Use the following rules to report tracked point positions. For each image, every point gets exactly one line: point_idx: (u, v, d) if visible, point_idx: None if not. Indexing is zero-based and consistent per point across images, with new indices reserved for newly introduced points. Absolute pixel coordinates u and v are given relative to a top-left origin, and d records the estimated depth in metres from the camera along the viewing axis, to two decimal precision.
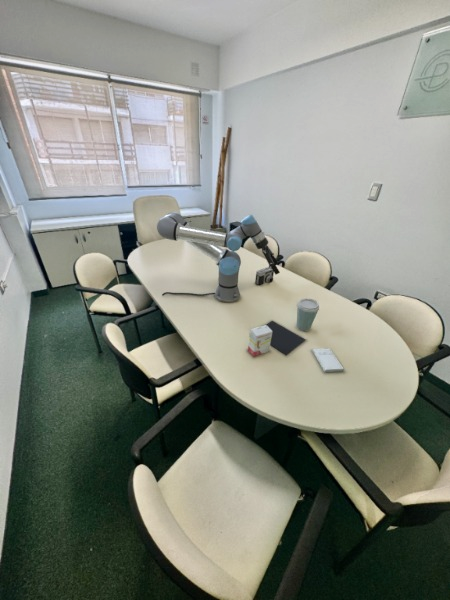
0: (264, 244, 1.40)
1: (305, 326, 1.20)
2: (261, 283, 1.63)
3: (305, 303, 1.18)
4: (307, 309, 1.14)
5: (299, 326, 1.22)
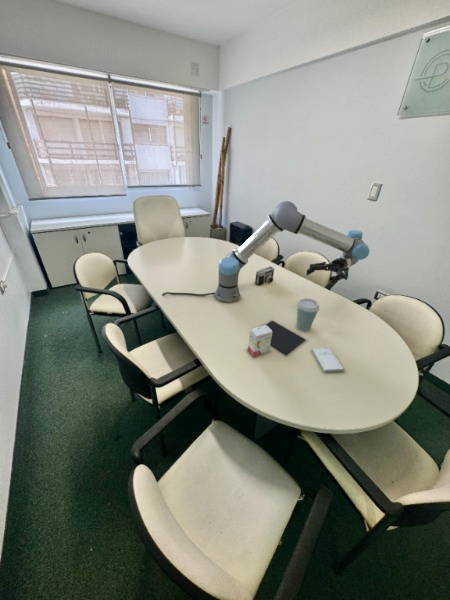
0: None
1: (305, 326, 1.20)
2: (261, 283, 1.63)
3: (305, 303, 1.18)
4: (307, 309, 1.14)
5: (299, 326, 1.22)
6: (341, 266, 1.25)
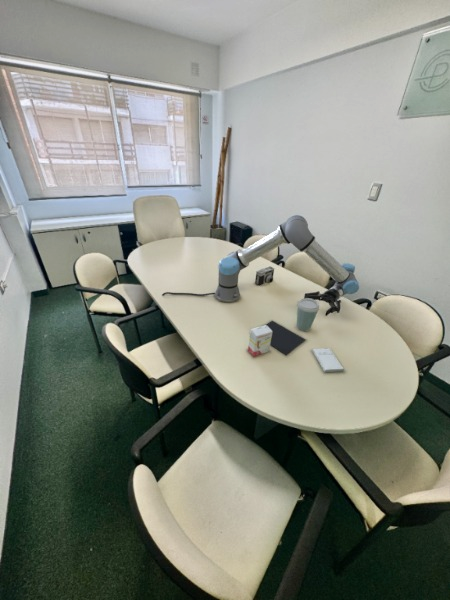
0: None
1: (305, 326, 1.20)
2: (261, 283, 1.63)
3: (305, 303, 1.18)
4: (307, 309, 1.14)
5: (299, 326, 1.22)
6: (334, 298, 1.32)
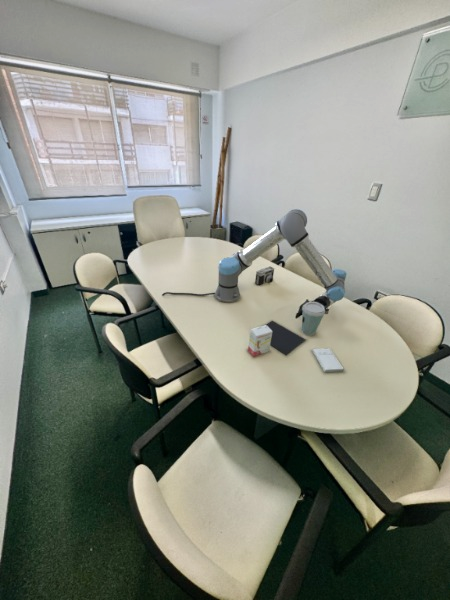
0: (326, 308, 1.28)
1: (310, 330, 1.17)
2: (261, 283, 1.63)
3: (310, 307, 1.16)
4: (313, 313, 1.11)
5: (304, 330, 1.19)
6: (324, 305, 1.26)
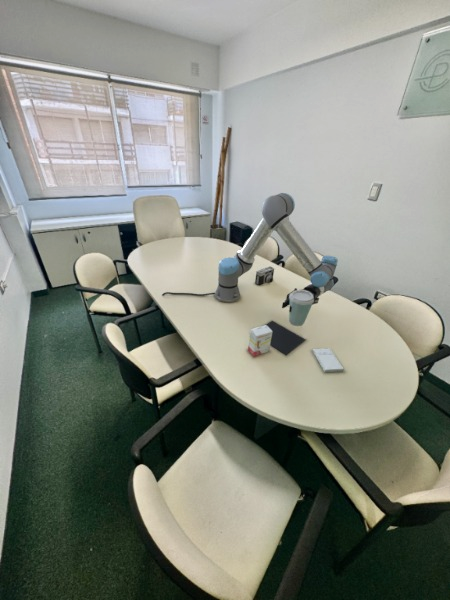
0: (316, 297, 1.19)
1: (298, 321, 1.07)
2: (261, 283, 1.63)
3: (298, 295, 1.06)
4: (300, 301, 1.01)
5: (292, 321, 1.09)
6: (314, 294, 1.16)
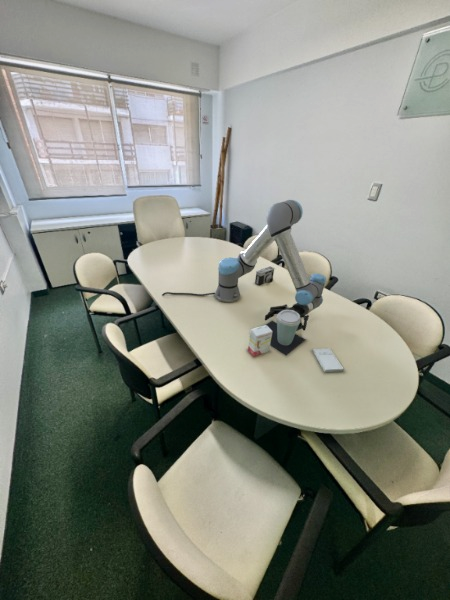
0: (304, 315, 1.21)
1: (286, 340, 1.09)
2: (261, 283, 1.63)
3: (285, 315, 1.08)
4: (287, 322, 1.03)
5: (280, 340, 1.11)
6: (302, 312, 1.18)
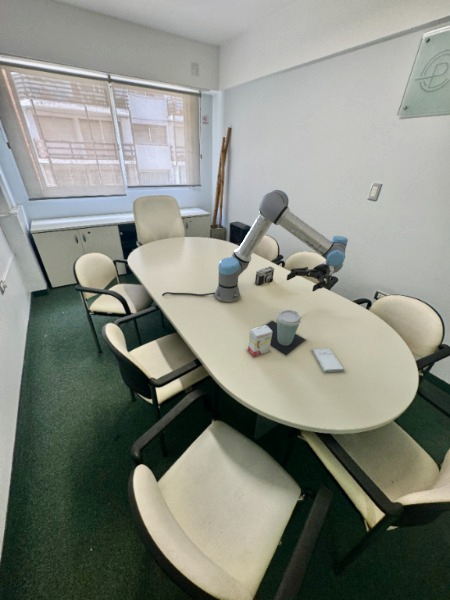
0: None
1: (286, 340, 1.09)
2: (261, 283, 1.63)
3: (285, 315, 1.08)
4: (287, 322, 1.03)
5: (280, 340, 1.11)
6: (323, 273, 1.17)
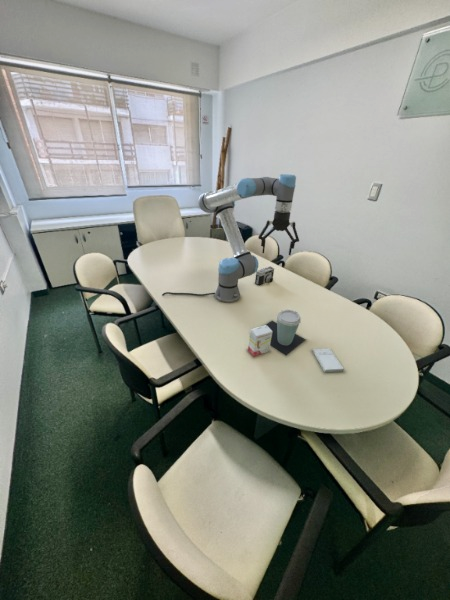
0: (274, 216, 1.15)
1: (286, 340, 1.09)
2: (261, 283, 1.63)
3: (285, 315, 1.08)
4: (287, 322, 1.03)
5: (280, 340, 1.11)
6: None
